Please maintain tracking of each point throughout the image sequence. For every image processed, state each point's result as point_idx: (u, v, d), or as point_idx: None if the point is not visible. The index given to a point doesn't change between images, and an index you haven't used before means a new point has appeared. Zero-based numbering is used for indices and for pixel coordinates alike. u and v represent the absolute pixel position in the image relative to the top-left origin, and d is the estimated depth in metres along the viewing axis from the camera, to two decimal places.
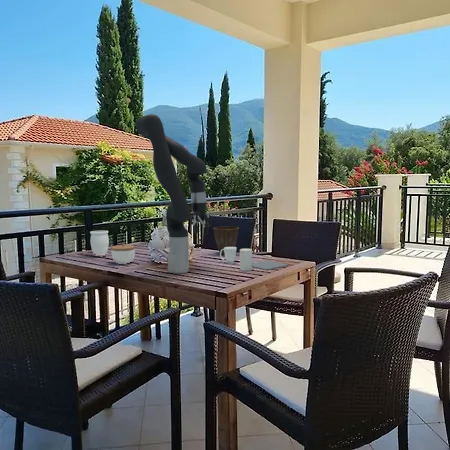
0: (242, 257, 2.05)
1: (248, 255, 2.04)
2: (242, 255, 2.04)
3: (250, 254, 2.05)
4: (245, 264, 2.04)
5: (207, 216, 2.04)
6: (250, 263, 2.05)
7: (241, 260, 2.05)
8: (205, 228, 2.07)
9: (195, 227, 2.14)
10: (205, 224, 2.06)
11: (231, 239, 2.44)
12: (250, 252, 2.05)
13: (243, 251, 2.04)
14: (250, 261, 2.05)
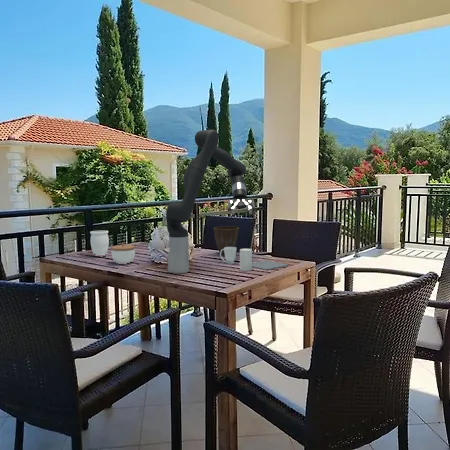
0: (242, 257, 2.05)
1: (248, 255, 2.04)
2: (242, 255, 2.04)
3: (250, 254, 2.05)
4: (245, 264, 2.04)
5: None
6: (250, 263, 2.05)
7: (241, 260, 2.05)
8: (251, 209, 2.21)
9: None
10: (251, 207, 2.22)
11: (231, 239, 2.44)
12: (250, 252, 2.05)
13: (243, 251, 2.04)
14: (250, 261, 2.05)
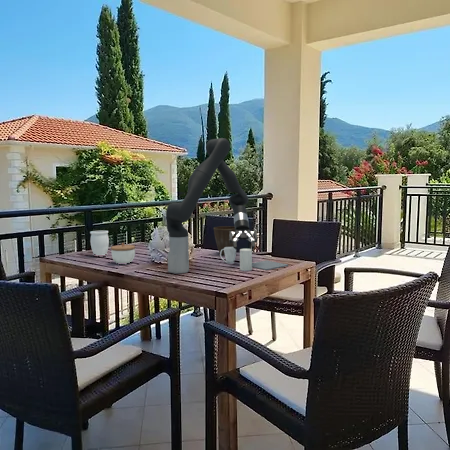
0: (242, 257, 2.05)
1: (248, 255, 2.04)
2: (242, 255, 2.04)
3: (250, 254, 2.05)
4: (245, 264, 2.04)
5: None
6: (250, 263, 2.05)
7: (241, 260, 2.05)
8: (253, 242, 2.13)
9: None
10: (253, 239, 2.14)
11: None
12: (250, 252, 2.05)
13: (243, 251, 2.04)
14: (250, 261, 2.05)
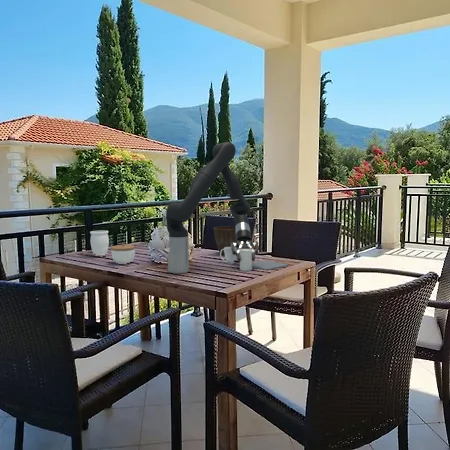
0: (242, 257, 2.05)
1: (248, 255, 2.04)
2: (242, 255, 2.04)
3: (250, 254, 2.05)
4: (245, 264, 2.04)
5: None
6: (250, 263, 2.05)
7: (241, 260, 2.05)
8: (254, 254, 2.07)
9: (239, 255, 2.07)
10: (253, 250, 2.08)
11: (231, 239, 2.44)
12: (250, 252, 2.05)
13: (243, 251, 2.04)
14: (250, 261, 2.05)
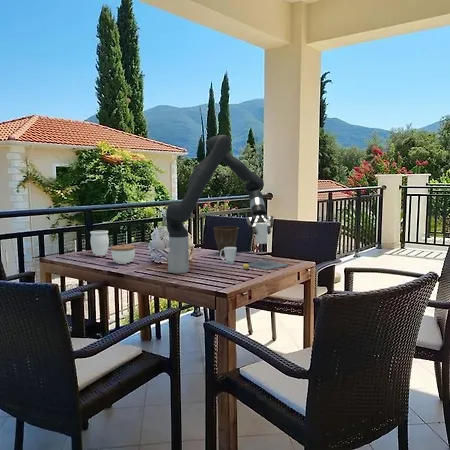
0: (258, 230, 2.10)
1: (264, 228, 2.10)
2: (258, 228, 2.10)
3: (266, 227, 2.10)
4: (261, 237, 2.10)
5: None
6: (266, 236, 2.11)
7: (257, 233, 2.11)
8: (269, 227, 2.13)
9: (255, 228, 2.12)
10: None
11: (231, 239, 2.44)
12: (266, 225, 2.10)
13: (259, 224, 2.09)
14: (266, 234, 2.11)
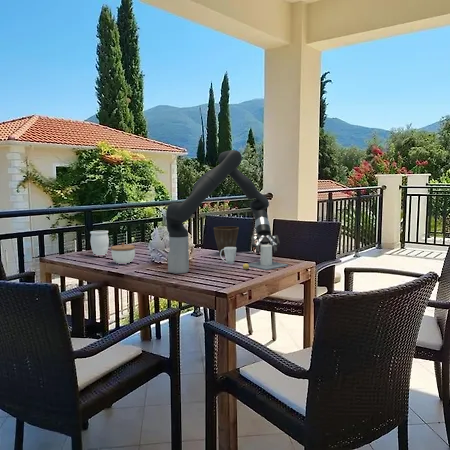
0: (263, 252, 2.13)
1: (269, 250, 2.13)
2: (263, 250, 2.13)
3: (270, 250, 2.13)
4: (266, 259, 2.13)
5: None
6: (271, 258, 2.14)
7: (262, 255, 2.14)
8: (275, 246, 2.16)
9: (258, 247, 2.15)
10: (275, 243, 2.17)
11: (231, 239, 2.44)
12: (270, 248, 2.13)
13: (264, 247, 2.13)
14: (270, 256, 2.14)
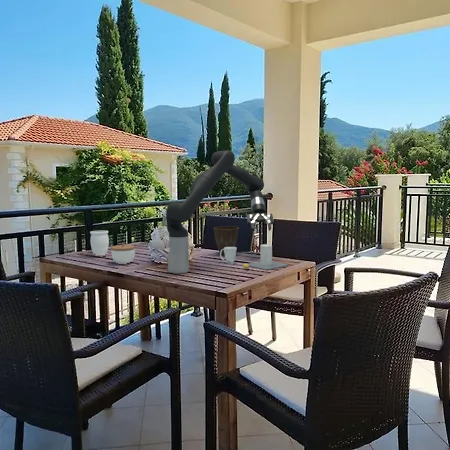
0: (263, 252, 2.13)
1: (269, 250, 2.13)
2: (263, 250, 2.13)
3: (270, 250, 2.13)
4: (266, 259, 2.13)
5: None
6: (271, 258, 2.14)
7: (262, 255, 2.14)
8: (270, 224, 2.28)
9: (253, 225, 2.27)
10: (270, 221, 2.29)
11: (231, 239, 2.44)
12: (270, 248, 2.13)
13: (264, 247, 2.13)
14: (270, 256, 2.14)
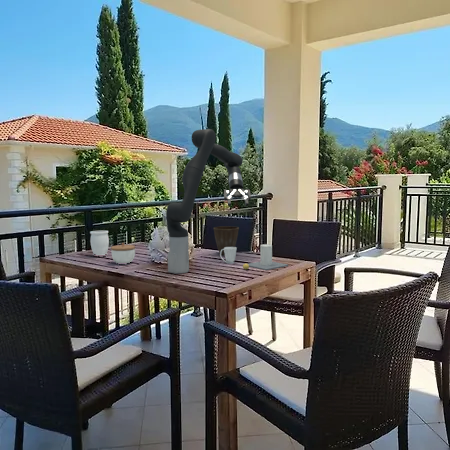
0: (263, 252, 2.13)
1: (269, 250, 2.13)
2: (263, 250, 2.13)
3: (270, 250, 2.13)
4: (266, 259, 2.13)
5: None
6: (271, 258, 2.14)
7: (262, 255, 2.14)
8: (247, 199, 2.23)
9: (230, 200, 2.22)
10: None
11: (231, 239, 2.44)
12: (270, 248, 2.13)
13: (264, 247, 2.13)
14: (270, 256, 2.14)
